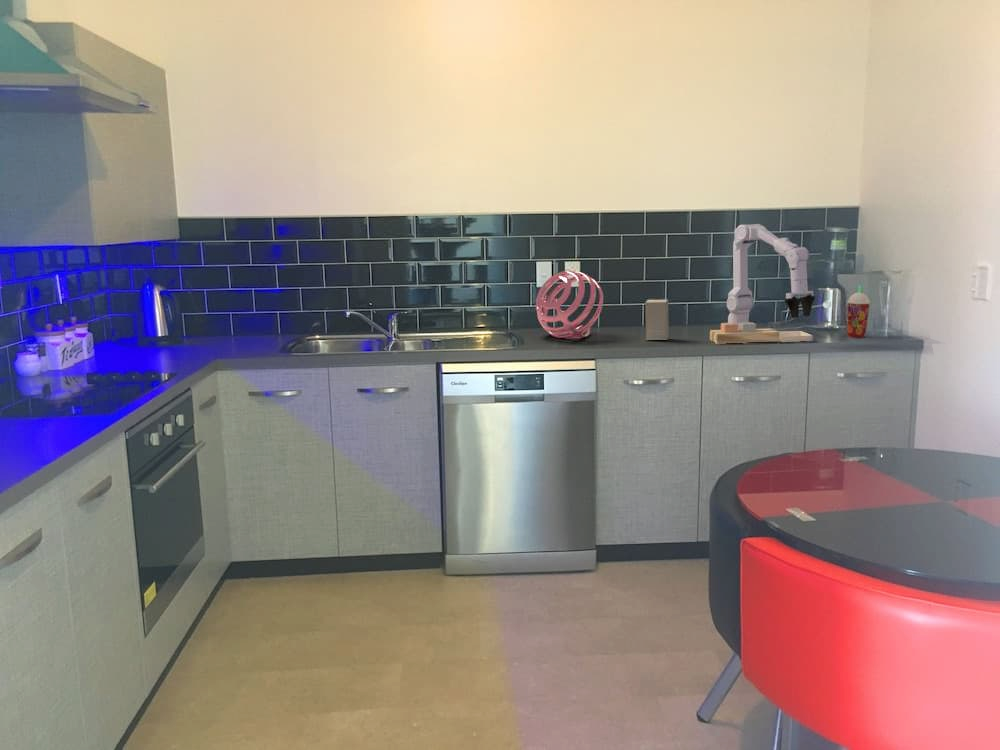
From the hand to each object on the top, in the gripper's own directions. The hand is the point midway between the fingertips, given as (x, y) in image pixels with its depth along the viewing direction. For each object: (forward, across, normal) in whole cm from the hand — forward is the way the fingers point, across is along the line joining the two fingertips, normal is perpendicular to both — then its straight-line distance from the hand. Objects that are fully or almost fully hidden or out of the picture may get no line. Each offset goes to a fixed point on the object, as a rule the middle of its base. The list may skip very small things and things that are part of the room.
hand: (801, 316), depth 313 cm
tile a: (+4, -14, +22) cm, 27 cm away
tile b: (+4, -8, +18) cm, 21 cm away
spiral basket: (+2, -52, +73) cm, 90 cm away
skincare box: (+5, -31, +44) cm, 54 cm away
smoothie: (+11, +31, -3) cm, 33 cm away
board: (+8, -9, +19) cm, 23 cm away
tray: (+9, +6, +9) cm, 14 cm away
